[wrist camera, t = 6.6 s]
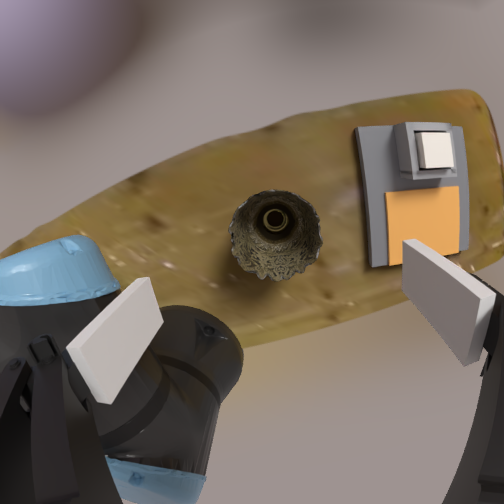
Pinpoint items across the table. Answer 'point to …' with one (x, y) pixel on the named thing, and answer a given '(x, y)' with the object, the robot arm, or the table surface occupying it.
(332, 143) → the table surface
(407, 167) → the plate
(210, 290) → the table surface
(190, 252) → the table surface
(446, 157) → the button
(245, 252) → the cup
